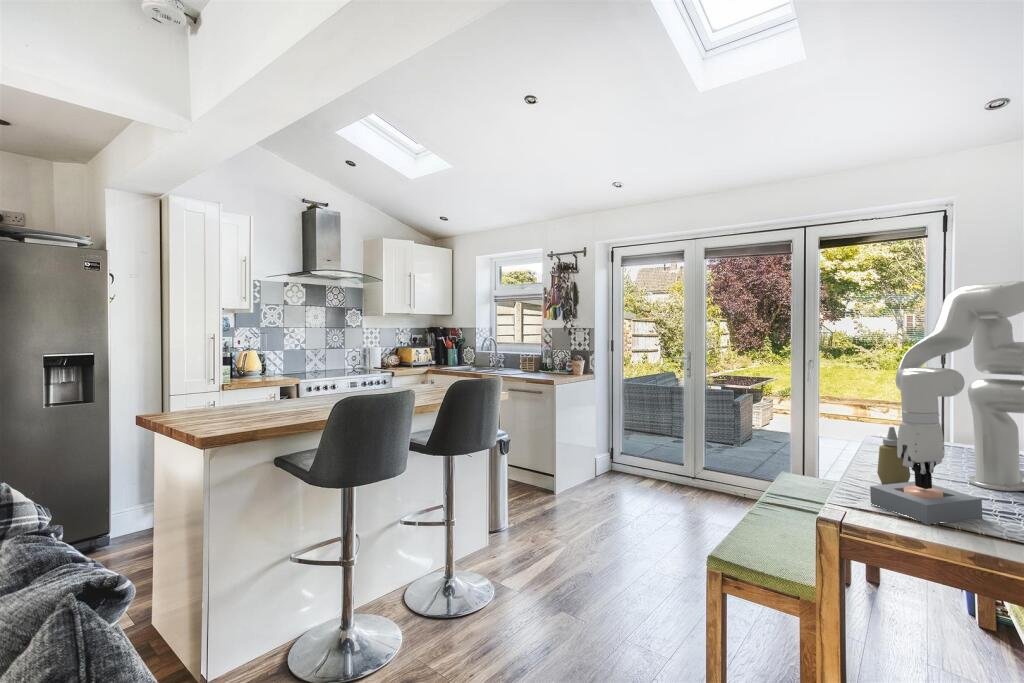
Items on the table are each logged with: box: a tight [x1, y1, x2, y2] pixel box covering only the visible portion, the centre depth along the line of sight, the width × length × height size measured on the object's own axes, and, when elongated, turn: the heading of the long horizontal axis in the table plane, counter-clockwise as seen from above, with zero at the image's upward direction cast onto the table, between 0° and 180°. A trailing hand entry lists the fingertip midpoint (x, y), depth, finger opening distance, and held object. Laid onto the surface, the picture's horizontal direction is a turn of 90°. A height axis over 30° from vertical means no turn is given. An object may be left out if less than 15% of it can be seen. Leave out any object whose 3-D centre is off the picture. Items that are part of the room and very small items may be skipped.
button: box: [904, 486, 943, 499], centre depth 131 cm, size 8×8×5 cm
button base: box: [869, 480, 983, 526], centre depth 131 cm, size 16×16×5 cm
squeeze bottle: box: [877, 426, 911, 485], centre depth 151 cm, size 8×8×18 cm
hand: (923, 487), depth 131 cm, fingers closed
